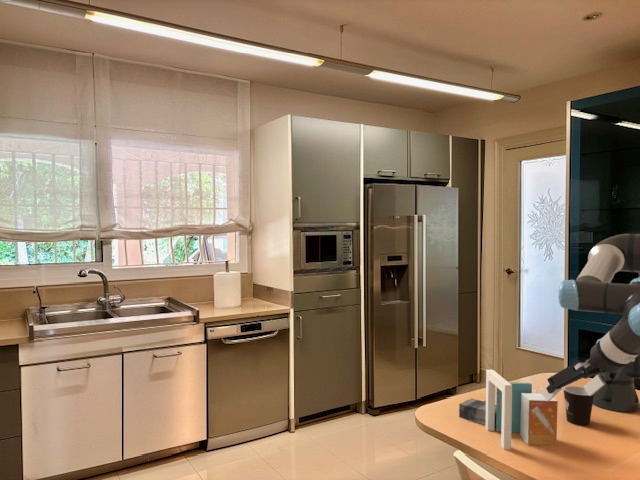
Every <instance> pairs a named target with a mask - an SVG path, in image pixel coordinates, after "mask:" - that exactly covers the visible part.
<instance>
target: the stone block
mask: <svg viewBox="0 0 640 480" xmlns="http://www.w3.org/2000/svg"><path fill="white" fill-rule="evenodd" d="M496 405H497V404H495V420H494V429H496ZM458 406H459V407H458V408H459V409H458V413H459V414H458V415H459V418H461V419H464V420H466V421H469V422H472V423H473V422H474V423H477V424H481V425H484V426H485V424H486V400H480V399H475V398H470V399H467V400H465V401H463V402H461V403H459V405H458Z"/></svg>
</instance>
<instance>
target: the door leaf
mask: <svg viewBox="0 0 640 480" xmlns="http://www.w3.org/2000/svg"><path fill="white" fill-rule="evenodd" d="M508 382H509V383H510V384H511V385H512V423H511V433H520V426H521V393H533V392H532V390H533V383H531V382H511V381H508ZM495 405H496V428H495V431H497V432H501V421H502V391H501V390H499V389H498V388H497V387H496V404H495Z"/></svg>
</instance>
